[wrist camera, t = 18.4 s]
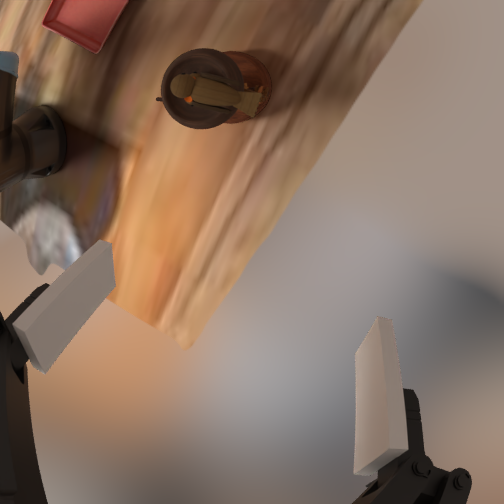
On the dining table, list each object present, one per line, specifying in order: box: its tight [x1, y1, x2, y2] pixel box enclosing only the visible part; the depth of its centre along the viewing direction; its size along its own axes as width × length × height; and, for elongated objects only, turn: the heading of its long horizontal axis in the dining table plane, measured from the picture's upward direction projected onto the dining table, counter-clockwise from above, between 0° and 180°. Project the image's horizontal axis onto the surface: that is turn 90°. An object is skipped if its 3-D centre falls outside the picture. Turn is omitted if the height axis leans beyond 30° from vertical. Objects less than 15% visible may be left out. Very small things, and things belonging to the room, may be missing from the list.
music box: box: [156, 48, 272, 129], centre depth 33 cm, size 15×11×20 cm
